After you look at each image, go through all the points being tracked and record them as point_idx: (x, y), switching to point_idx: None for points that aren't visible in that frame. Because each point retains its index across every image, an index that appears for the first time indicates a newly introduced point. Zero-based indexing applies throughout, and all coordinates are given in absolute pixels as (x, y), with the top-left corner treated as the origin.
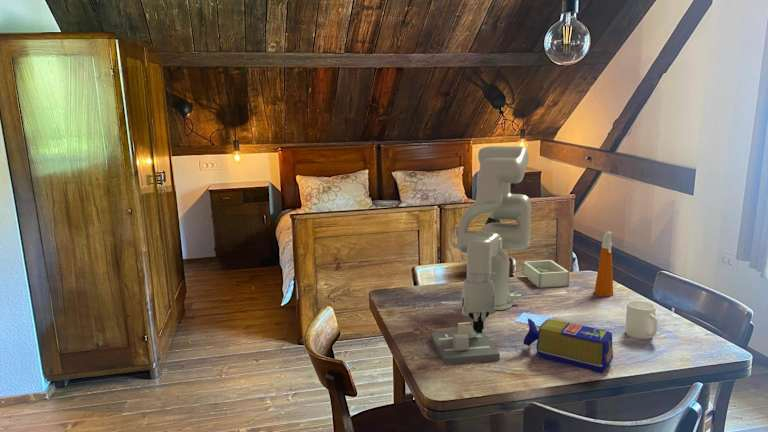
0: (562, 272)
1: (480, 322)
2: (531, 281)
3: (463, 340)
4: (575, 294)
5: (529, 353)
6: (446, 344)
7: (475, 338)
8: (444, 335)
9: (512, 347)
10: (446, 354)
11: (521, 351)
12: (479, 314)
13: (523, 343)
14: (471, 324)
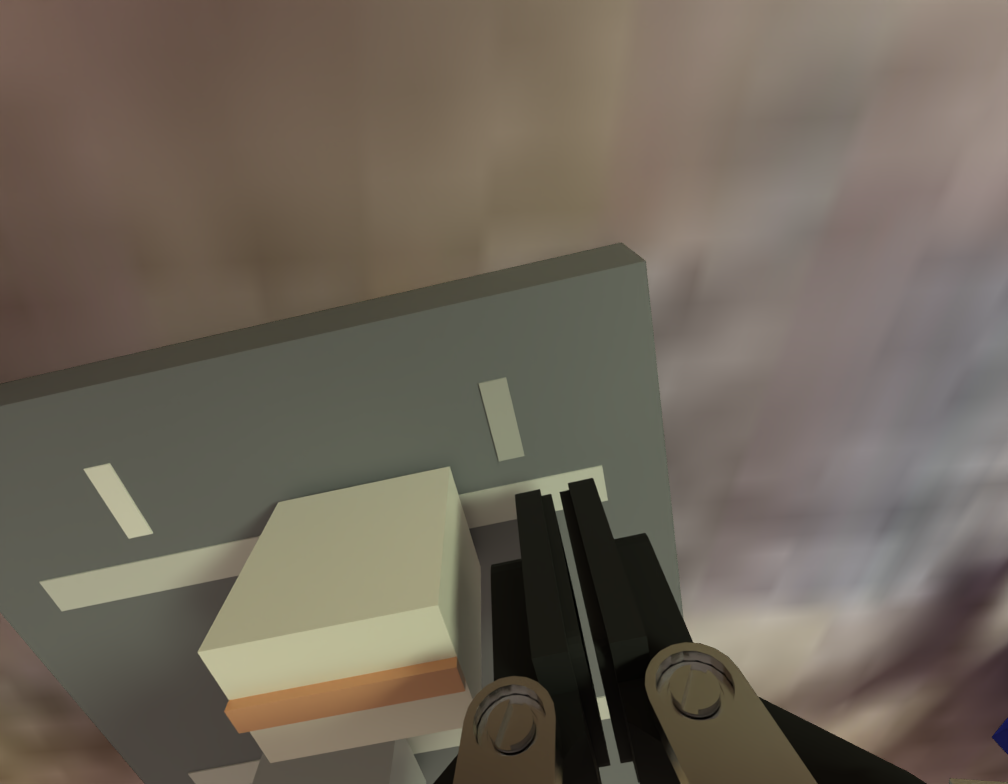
0: None
1: (628, 755)
2: None
3: None
4: None
5: (978, 623)
6: (184, 693)
7: (514, 549)
8: (91, 500)
9: (882, 534)
10: None
11: (927, 598)
12: (675, 761)
13: (1004, 743)
14: (458, 685)
